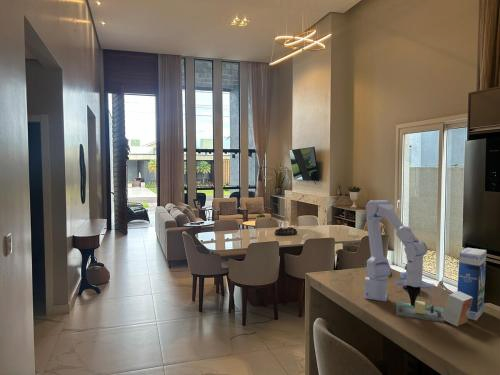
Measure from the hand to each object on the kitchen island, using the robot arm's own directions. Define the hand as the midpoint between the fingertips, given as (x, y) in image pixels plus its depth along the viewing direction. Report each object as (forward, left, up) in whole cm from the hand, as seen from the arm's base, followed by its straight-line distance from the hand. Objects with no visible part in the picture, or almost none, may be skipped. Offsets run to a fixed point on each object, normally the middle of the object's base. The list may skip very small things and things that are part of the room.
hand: (412, 304), depth 146 cm
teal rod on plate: (+3, 0, -4) cm, 5 cm away
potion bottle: (+1, +33, -4) cm, 33 cm away
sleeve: (+3, 0, -2) cm, 4 cm away
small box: (+15, -2, -4) cm, 15 cm away
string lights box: (+22, +10, -4) cm, 24 cm away
